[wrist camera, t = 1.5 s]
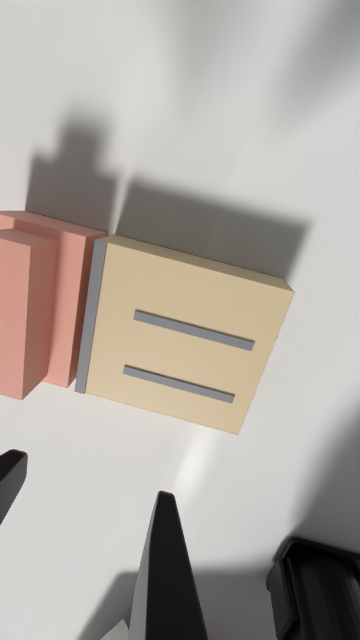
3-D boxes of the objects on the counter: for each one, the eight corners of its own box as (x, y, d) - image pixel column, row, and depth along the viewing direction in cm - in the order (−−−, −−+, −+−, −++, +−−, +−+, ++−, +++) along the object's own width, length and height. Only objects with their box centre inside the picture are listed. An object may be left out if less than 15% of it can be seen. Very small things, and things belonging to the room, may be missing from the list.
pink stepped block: (106, 232, 18) (61, 242, 13) (87, 363, 21) (45, 414, 16) (24, 210, 18) (-54, 212, 13) (18, 345, 21) (-47, 389, 16)
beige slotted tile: (282, 278, 17) (295, 292, 15) (235, 404, 21) (238, 436, 18) (114, 234, 18) (94, 239, 15) (94, 365, 21) (74, 391, 18)
